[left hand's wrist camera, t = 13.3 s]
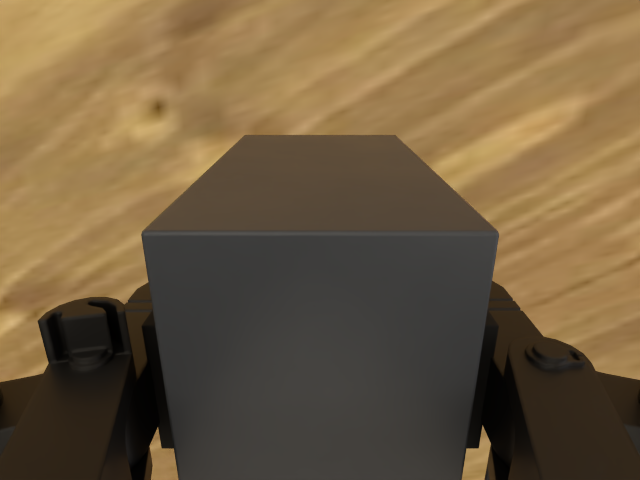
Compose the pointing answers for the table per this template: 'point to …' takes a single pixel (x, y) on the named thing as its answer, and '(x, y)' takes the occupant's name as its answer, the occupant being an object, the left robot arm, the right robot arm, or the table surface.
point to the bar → (320, 313)
